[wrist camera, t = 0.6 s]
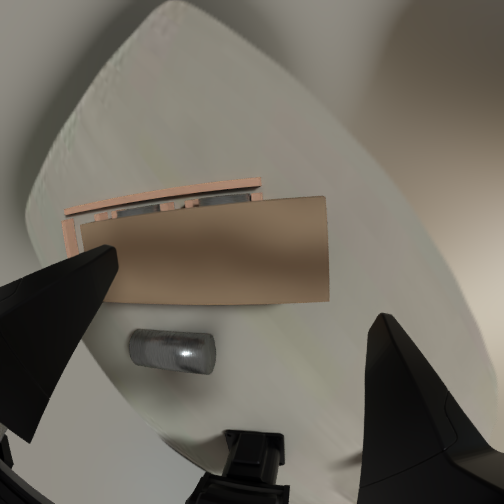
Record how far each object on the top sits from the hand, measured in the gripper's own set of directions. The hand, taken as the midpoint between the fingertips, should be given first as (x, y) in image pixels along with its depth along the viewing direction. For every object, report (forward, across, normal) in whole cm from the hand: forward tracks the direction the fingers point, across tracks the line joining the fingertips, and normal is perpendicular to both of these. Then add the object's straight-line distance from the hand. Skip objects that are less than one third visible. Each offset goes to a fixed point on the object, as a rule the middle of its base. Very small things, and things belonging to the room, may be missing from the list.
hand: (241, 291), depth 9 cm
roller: (+8, +6, +16) cm, 18 cm away
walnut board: (+8, +4, +5) cm, 10 cm away
